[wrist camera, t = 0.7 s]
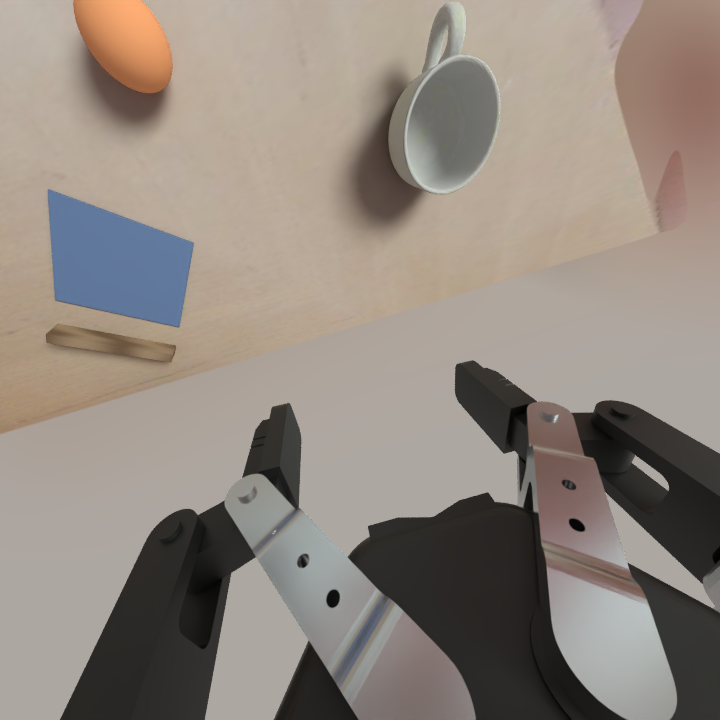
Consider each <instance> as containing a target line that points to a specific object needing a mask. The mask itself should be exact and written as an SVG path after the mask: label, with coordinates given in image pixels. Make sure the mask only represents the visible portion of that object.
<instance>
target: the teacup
mask: <svg viewBox="0 0 720 720" xmlns="http://www.w3.org/2000/svg"><path fill="white" fill-rule="evenodd" d="M447 28H448V42H447V46H446V49H445V52H444V54H443V56H442V57H441V59H440V55H441V50H442V45H443V41H444V36H445V33H446V30H447ZM465 28H466V16H465V11H464V8H463V6H462V5H461V4H460V3H459V2H455V1H453V2H449V3H446V4H445V5H444V6H443V7H442V8H441V9H440V10H439V11H438V13H437V15H436V17H435V20H434V23H433V26H432V29H431V33H430V37H429V42H428V48H427V54H426V60H425V64H424V67H423V70H422V74H421V75H419V76H418V77H417V78H416V79H414V80H413V81H412V82H411V83H410V84H409V85H408V86H407V87H406V89H405V90H404V91H403V93H402V94H401V96H400V98H399V99H398V101H397V103H396V106H395V108H394V111H393V113H392V117H391V121H390V126H389V134H388V144H389V152H390V157H391V160H392V163H393V165H394V168H395V169H396V171H397V173H398V174H399V175H400V177H401V178H402V179H403V180H404V181H405V182H407V183H408V184H410V185H412V186H414V187H417V188H419V189H422V190H425V191H427V192H429V193H433V194H449V193H452V192H455V191H457V190H459V189H461V188H462V187H464V186H465V185H466V184H468V183H469V182H470V181H471V180H472V179H473V178H474V177H475V176H476V174H477V173H478V172H479V171H480V169H481V168H482V166H483V165H484V163H485V162H486V160H487V158H488V156H489V154H490V152H491V150H492V147H493V145H494V142H495V139H496V135H497V131H498V127H499V119H500V95H499V89H498V85H497V82H496V79H495V77H494V75H493V73H492V71H491V69H490V68H489V67H488V66H487V64H486V63H484V62H483V61H482V60H480V59H478V58H476V57H474V56H469V55H460V53H461V49H462V46H463V42H464V37H465Z"/></svg>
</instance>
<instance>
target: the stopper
mask: <svg viewBox="0 0 720 720" xmlns="http://www.w3.org/2000/svg"><path fill="white" fill-rule="evenodd" d="M46 341H47V343H51V344H57V345H64V346H70V347H77V348H83V349H89V350H96V351H102V352H109V353H115V354H121V355H128V356H134V357H140V358H147V359H153V360H160V361H166V362H171V361H172V359H173V356H174V353H175V349H176V346H174V345H169V344H163V343H158V342H153V341H147V340H142V339H136V338H131V337H126V336H120V335H115V334H109V333H104V332H99V331H93V330H88V329H82V328H77V327H72V326H66V325H61V324H57V325H56V326H55V327H54V328H53V329H52V330H50V331H49V332H48V333H47V334H46Z"/></svg>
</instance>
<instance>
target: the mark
mask: <svg viewBox="0 0 720 720" xmlns="http://www.w3.org/2000/svg"><path fill="white" fill-rule="evenodd" d="M48 202H49V216H50V231H51V245H52V259H53V273H54V288H55V300H57V301H62V302H67V303H71V304H76V305H80V306H85V307H89V308H94V309H99V310H103V311H108V312H112V313H117V314H122V315H126V316H131V317H135V318H140V319H144V320H149V321H154V322H158V323H163V324H167V325H172V326H177V327H179V326H180V320H181V314H182V308H183V302H184V297H185V291H186V285H187V279H188V273H189V267H190V262H191V256H192V250H193V244H194V243H192V242H190V241H187V240H184V239H182V238H179V237H176V236H173V235H171V234H168V233H165V232H163V231H160V230H157V229H154V228H152V227H149V226H146V225H144V224H141V223H138V222H136V221H133V220H130V219H127V218H125V217H122V216H119V215H117V214H114V213H111V212H108V211H106V210H103V209H100V208H98V207H95V206H92V205H90V204H87V203H84V202H81V201H79V200H76V199H73V198H71V197H68V196H65V195H62V194H60V193H57V192H54V191H52V190H48Z"/></svg>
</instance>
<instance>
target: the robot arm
mask: <svg viewBox="0 0 720 720" xmlns="http://www.w3.org/2000/svg"><path fill="white" fill-rule="evenodd" d="M455 369H456V371H455V394H456V397H457V400H458V402H459V403H460V404H461V405H462V406H463V408H464V409H465V410H466V411H467V412H468V413H469V414H470V416H471V417H472V418H473V419H474V420H475V421H476V422H477V424H478V425H479V426H480V427H481V428H482V429H483V430H484V431H485V433H486V434H487V435H488V436H489V437H490V438H491V440H492V441H493V442H494V443H495V444H496V445H497V446H498V447H499V449H500V450H501V451H502V452H503V453H508V452H512V451H516V452H517V454H518V458H517V478H518V504H517V506H516V505H512V504H508V503H500V502H494V500H493V499H492V497H491V496H490V494H489V493H484V494H481V495H478V496H473V497H470V498H467V499H463V500H459V501H458V502H456V503H455V504H453V505H452V506H450V507H448V508H447V509H445V510H444V511H442V512H441V513H439V514H438V515H436V516H434V517H425V518H424V517H423V518H422V517H421V518H395V519H392V520H388V521H385V522H381V523H378V524H374V525H370V526H368V529H369V534H370V537H369V538H367V539H365V540H364V541H363V542H361V543H360V544H359V545H358V546H357V547H356V548H355V549H354V550H353V551H352V552H351V553H350V555H349V556H348V557H347V556H345V554H344V553H343V552H342V551H341V550H340V549H339V548H338V547H337V546H336V545H335V544H334V543H333V542H332V541H331V540H330V539H329V538H328V537H327V535H326V534H325V533H324V532H323V531H322V530H321V529H320V528H319V527H318V526H317V525H316V524H315V523H314V522H313V521H312V520H311V519H310V518H309V517H308V516H307V515H306V514H305V513H304V512H303V511H302V510H301V509H300V508H299V484H300V461H301V434H300V429H299V426H298V424H297V421H296V418H295V415H294V413H293V410H292V407H291V405H290V403H287V404H283V405H279V406H274V407H272V409H271V414H270V419H268V420H263V421H262V422H261V423H260V425H259V426H258V427H257V429H256V431H255V434H254V438H253V441H252V445H251V449H250V452H249V456H248V459H247V463H246V466H245V470H244V474H243V477H242V479H240V480H239V481H238V482H236V483H235V484H234V485H233V486H232V487H231V489H230V490H229V491H228V493H227V495H226V498H225V501H223V502H221V503H220V504H218V505H216V506H214V507H213V508H211V509H209V510H207V511H205V512H203V513H201V514H200V515H197V514H196V513H195V512H194V511H193V510H191V509H183V510H179V511H176V512H174V513H172V514H171V515H169V516H168V517H166V518H165V519H163V520H162V521H161V522H160V523H159V524H158V525H157V526H156V527H155V528H154V529H153V531H152V532H151V534H150V535H149V536H148V538H147V540H146V542H145V544H144V546H143V548H142V551H141V553H140V555H139V557H138V559H137V561H136V563H135V565H134V567H133V569H132V571H131V573H130V575H129V578H128V579H127V582H126V584H125V586H124V588H123V590H122V592H121V594H120V596H119V598H118V600H117V602H116V604H115V607H114V609H113V611H112V613H111V615H110V617H109V619H108V621H107V623H106V625H105V627H104V629H103V632H102V634H101V636H100V638H99V640H98V642H97V644H96V646H95V648H94V650H93V652H92V655H91V656H90V659H89V661H88V663H87V665H86V667H85V669H84V671H83V673H82V675H81V677H80V679H79V682H78V684H77V686H76V688H75V690H74V692H73V694H72V696H71V698H70V700H69V702H68V704H67V707H66V709H65V711H64V713H63V715H62V717H61V719H60V720H205V714H206V709H207V704H208V698H209V692H210V687H211V681H212V676H213V671H214V665H215V659H216V654H217V648H218V643H219V638H220V632H221V627H222V621H223V616H224V610H225V605H226V599H227V593H228V587H229V583H230V577H231V572H233V571H235V570H236V569H238V568H240V567H241V566H243V565H244V564H246V563H247V562H249V561H250V560H252V559H253V558H255V557H256V558H257V559H258V561H259V562H260V564H261V566H262V567H263V569H264V570H265V572H266V573H267V575H268V577H269V578H270V580H271V581H272V583H273V585H274V586H275V588H276V589H277V591H278V592H279V594H280V595H281V597H282V599H283V600H284V602H285V603H286V605H287V607H288V608H289V610H290V611H291V613H292V614H293V616H294V618H295V619H296V621H297V622H298V624H299V626H300V627H301V628H302V630H303V632H304V633H305V635H306V636H307V638H308V640H309V641H308V643H307V646H306V648H305V650H304V653H303V655H302V657H301V659H300V661H299V664H298V666H297V668H296V671H295V673H294V675H293V677H292V680H291V682H290V684H289V686H288V689H287V691H286V693H285V696H284V698H283V700H282V703H281V705H280V707H279V709H278V711H277V714H276V716H275V718H274V720H720V454H719V453H717V452H716V451H714V450H712V449H710V448H709V447H707V446H705V445H703V444H702V443H700V442H698V441H696V440H695V439H693V438H691V437H689V436H688V435H686V434H684V433H682V432H681V431H679V430H677V429H675V428H674V427H672V426H670V425H668V424H667V423H665V422H663V421H661V420H660V419H658V418H656V417H654V416H653V415H651V414H649V413H647V412H646V411H644V410H642V409H640V408H638V407H636V406H634V405H631V404H628V403H624V402H619V401H611V400H610V401H601V402H599V403H597V404H596V406H595V409H594V412H593V413H571V412H570V411H569V410H567V409H566V408H564V407H562V406H560V405H557V404H555V403H550V402H537V401H536V400H534V399H533V398H532V397H530V396H529V395H528V394H526V393H525V392H524V391H522V390H521V389H520V388H518V387H517V386H516V385H513V383H512V382H510V381H509V380H508V379H507V380H506V378H505V377H503V376H502V375H501V374H499V373H498V372H496V371H493V370H491V369H488V368H483V367H481V366H480V365H479V364H478V363H476V362H475V361H468V362H464V363H459V364H457V365H456V368H455ZM635 455H636V456H637V457H639V458H640V459H641V460H643V461H644V462H646V463H647V464H648V465H650V466H651V467H652V468H654V469H655V470H656V471H658V472H659V473H660V474H662V475H663V476H664V478H665V479H666V480H667V482H668V484H669V491H667V490H666V489H665V488H663V487H662V486H661V485H659V484H658V483H657V482H656V481H654V480H653V479H652V478H650V477H649V476H648V475H647V474H645V473H644V472H643V471H641V470H640V469H639V468H637V467H636V466H635V465H634V464H632V460H633V459H634V457H635ZM605 492H606V493H607V494H608V495H609V496H610V497H611V498H612V499H613V500H614V501H615V502H616V503H618V505H620V506H621V507H622V508H623V509H624V510H625V511H626V512H627V513H628V514H629V515H630V516H631V517H632V518H633V519H634V520H635V521H636V522H638V523H639V524H640V525H641V526H642V527H643V528H644V529H645V530H646V531H647V532H648V533H649V534H650V535H651V536H652V537H653V538H655V539H656V540H657V541H658V542H659V543H660V544H661V545H662V546H663V547H664V548H665V549H666V550H667V551H668V552H669V553H670V554H671V555H672V556H673V557H675V558H676V559H677V560H678V561H679V562H680V563H681V564H682V565H683V566H684V567H685V568H686V569H687V570H688V571H689V572H691V573H692V574H693V575H694V576H695V577H696V578H697V579H698V580H699V581H700V582H701V583H702V584H703V586H704V589H705V591H706V593H707V594H708V596H709V598H710V599H711V601H712V602H713V603H714V605H715V607H714V609H713V608H711V607H709V606H707V605H705V604H703V603H701V602H700V601H698V600H696V599H694V598H692V597H690V596H688V595H687V594H685V593H683V592H681V591H679V590H677V589H675V588H674V587H672V586H670V585H668V584H666V583H664V582H662V581H660V580H659V579H657V578H655V577H653V576H651V575H649V574H648V573H646V572H644V571H642V570H640V569H638V568H636V567H635V566H633V565H631V564H629V563H627V561H626V558H625V554H624V551H623V548H622V545H621V542H620V538H619V535H618V532H617V529H616V526H615V522H614V519H613V516H612V513H611V509H610V506H609V503H608V500H607V497H606V493H605Z"/></svg>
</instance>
